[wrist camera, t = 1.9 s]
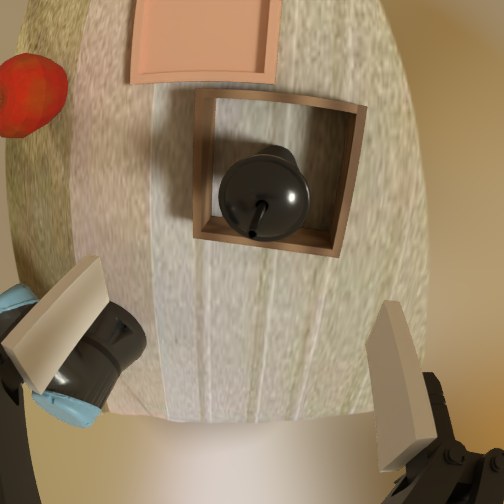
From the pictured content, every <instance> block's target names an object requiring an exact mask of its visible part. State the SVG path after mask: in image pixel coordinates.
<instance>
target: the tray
mask: <svg viewBox="0 0 504 504" xmlns="http://www.w3.org/2000/svg"><path fill="white" fill-rule="evenodd" d="M282 1H283V0H137V3H136V11H135V19H134V29H133V40H132V53H131V70H130V85H131V84H149V83H165V82H241V83H258V84H271V85H275V84H276V72H277V61H278V49H279V37H280V25H281V13H282Z"/></svg>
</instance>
